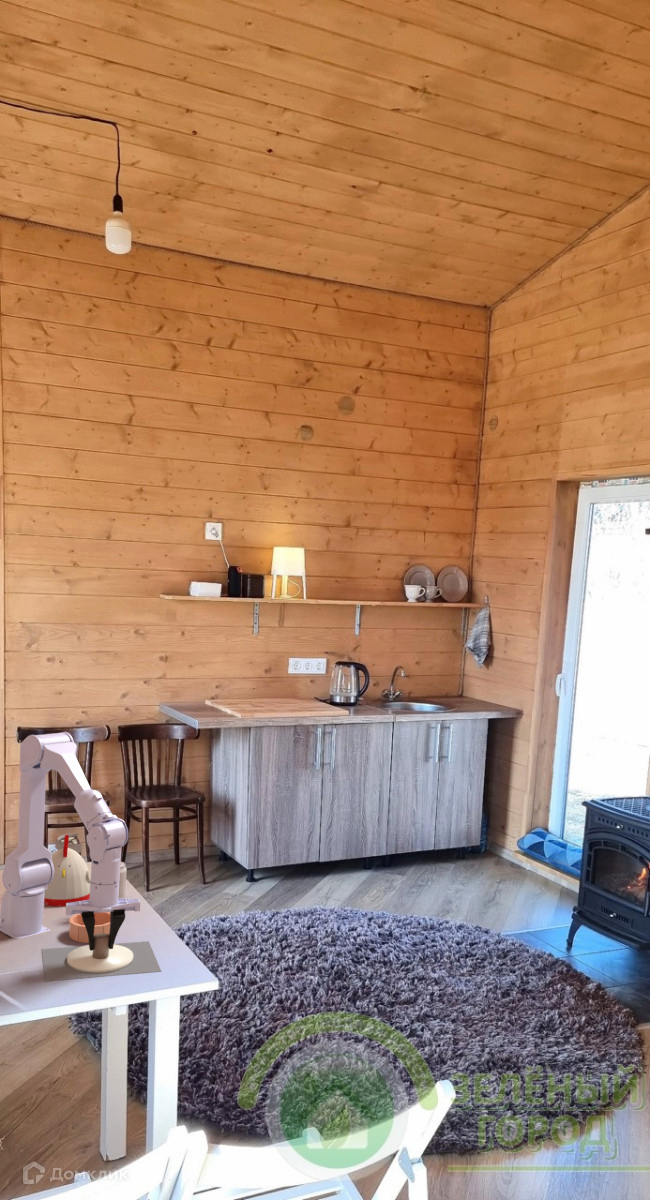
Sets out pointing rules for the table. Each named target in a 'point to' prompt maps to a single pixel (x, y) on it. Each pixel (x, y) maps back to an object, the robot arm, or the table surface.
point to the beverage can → (122, 880)
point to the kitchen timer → (68, 878)
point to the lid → (100, 956)
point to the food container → (70, 843)
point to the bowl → (79, 930)
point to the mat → (60, 970)
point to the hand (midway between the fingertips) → (100, 948)
